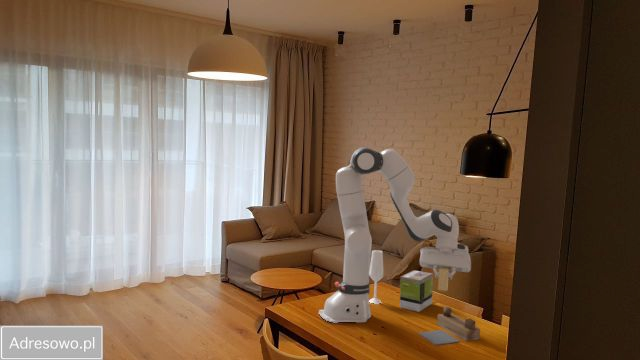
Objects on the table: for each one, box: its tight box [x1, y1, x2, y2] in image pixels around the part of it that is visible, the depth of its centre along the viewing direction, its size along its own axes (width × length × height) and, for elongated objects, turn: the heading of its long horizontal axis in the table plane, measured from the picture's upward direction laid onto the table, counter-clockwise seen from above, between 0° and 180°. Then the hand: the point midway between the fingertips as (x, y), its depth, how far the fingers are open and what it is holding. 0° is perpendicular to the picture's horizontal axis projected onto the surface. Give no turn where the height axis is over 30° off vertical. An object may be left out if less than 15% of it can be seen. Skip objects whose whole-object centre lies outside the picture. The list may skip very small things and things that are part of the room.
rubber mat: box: [418, 329, 461, 346], centre depth 176 cm, size 11×11×1 cm
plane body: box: [436, 306, 481, 342], centre depth 183 cm, size 7×18×7 cm, turn 22°
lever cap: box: [437, 267, 450, 292], centre depth 184 cm, size 4×4×8 cm
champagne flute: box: [369, 249, 384, 305], centre depth 215 cm, size 7×7×24 cm
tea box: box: [399, 269, 434, 313], centre depth 212 cm, size 15×10×15 cm, turn 144°
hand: (443, 277), depth 183 cm, fingers closed on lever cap, 4 cm apart
